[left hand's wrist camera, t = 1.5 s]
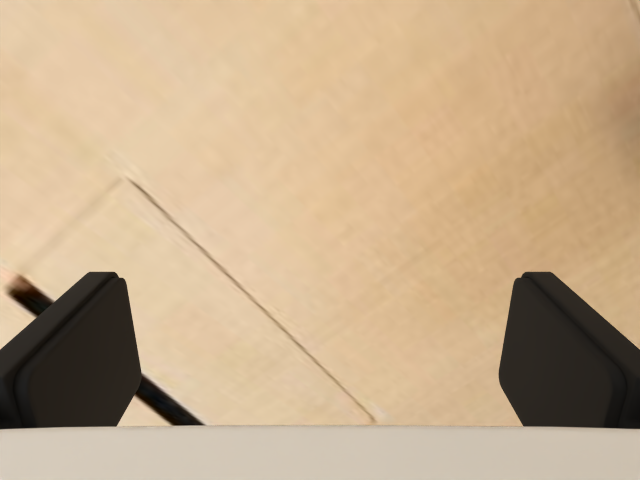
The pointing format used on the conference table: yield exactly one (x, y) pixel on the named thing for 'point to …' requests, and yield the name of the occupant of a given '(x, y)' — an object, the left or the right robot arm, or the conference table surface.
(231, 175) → the conference table surface
